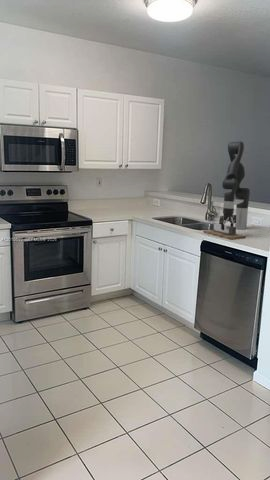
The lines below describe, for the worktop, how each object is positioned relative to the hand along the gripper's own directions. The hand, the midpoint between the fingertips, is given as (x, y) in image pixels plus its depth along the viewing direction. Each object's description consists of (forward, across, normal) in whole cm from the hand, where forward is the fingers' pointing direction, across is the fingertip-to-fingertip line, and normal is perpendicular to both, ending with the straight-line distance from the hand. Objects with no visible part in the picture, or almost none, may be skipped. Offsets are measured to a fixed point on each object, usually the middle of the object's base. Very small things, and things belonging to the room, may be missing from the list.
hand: (227, 229), depth 283 cm
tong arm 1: (+2, -2, +3) cm, 4 cm away
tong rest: (+5, 0, +3) cm, 6 cm away
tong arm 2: (+2, +1, +3) cm, 4 cm away
